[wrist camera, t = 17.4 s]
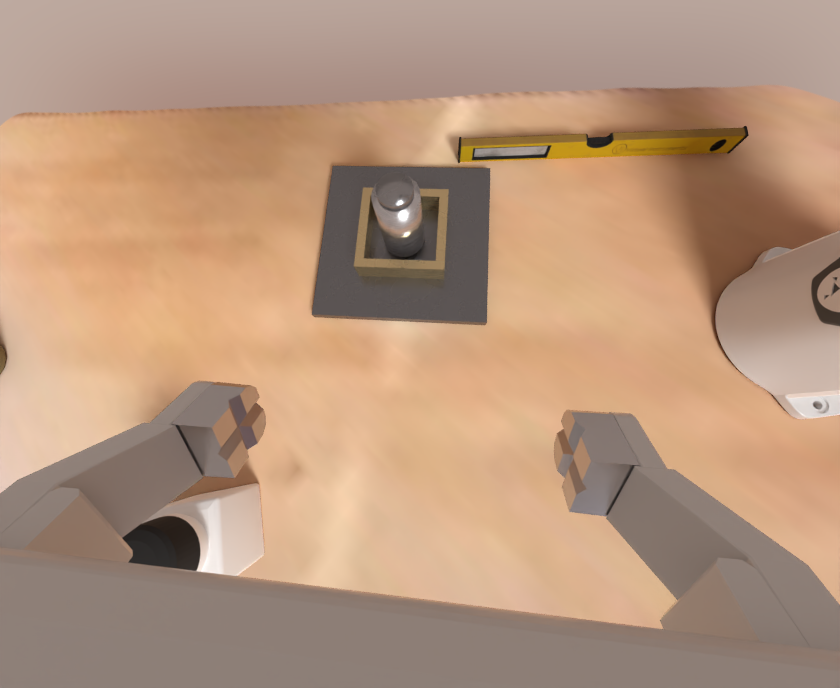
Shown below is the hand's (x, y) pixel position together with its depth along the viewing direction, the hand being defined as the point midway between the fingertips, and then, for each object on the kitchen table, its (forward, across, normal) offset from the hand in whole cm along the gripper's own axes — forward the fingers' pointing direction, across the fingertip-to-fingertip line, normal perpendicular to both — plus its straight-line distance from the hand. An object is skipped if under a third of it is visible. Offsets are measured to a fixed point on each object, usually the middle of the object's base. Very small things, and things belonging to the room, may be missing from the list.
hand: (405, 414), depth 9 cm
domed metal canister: (+34, +5, +5) cm, 35 cm away
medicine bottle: (+11, +20, +29) cm, 37 cm away
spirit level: (+45, -18, -4) cm, 48 cm away
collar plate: (+35, +5, +5) cm, 35 cm away
